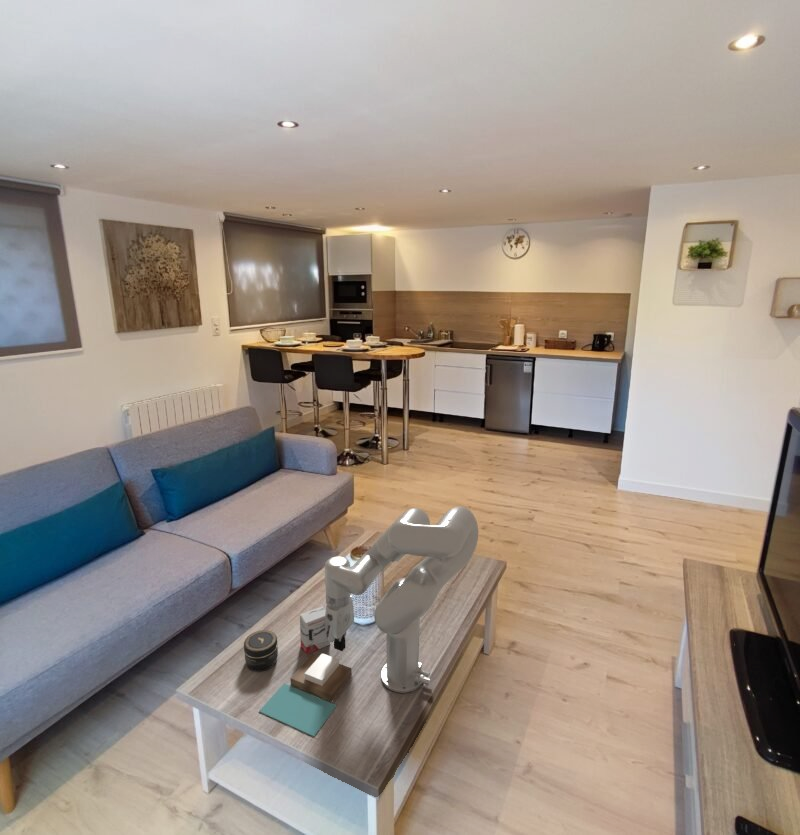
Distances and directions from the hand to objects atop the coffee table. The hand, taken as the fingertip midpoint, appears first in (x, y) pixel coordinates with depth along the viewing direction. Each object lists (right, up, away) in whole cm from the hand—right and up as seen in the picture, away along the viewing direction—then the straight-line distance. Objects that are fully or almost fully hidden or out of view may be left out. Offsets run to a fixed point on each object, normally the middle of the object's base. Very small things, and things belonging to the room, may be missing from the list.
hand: (339, 648), depth 153 cm
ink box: (-9, -2, +6) cm, 11 cm away
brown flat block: (-4, -6, -8) cm, 11 cm away
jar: (-24, -4, -1) cm, 24 cm away
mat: (-9, -8, -18) cm, 22 cm away
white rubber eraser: (-4, -3, -8) cm, 10 cm away
